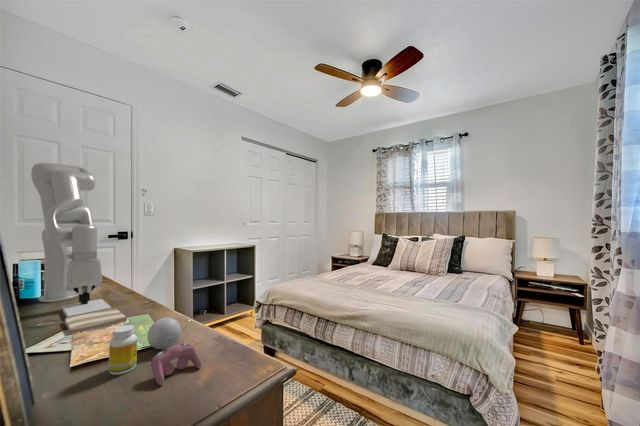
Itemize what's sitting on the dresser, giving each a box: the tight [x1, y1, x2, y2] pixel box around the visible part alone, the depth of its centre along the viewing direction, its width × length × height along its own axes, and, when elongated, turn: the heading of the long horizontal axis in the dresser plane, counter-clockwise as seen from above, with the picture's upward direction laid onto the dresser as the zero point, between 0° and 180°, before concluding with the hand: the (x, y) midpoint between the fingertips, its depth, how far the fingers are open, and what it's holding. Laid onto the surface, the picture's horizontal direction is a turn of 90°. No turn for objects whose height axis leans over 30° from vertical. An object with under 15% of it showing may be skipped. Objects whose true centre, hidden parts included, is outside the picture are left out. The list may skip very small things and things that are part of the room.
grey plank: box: [61, 298, 113, 318], centre depth 103 cm, size 16×12×2 cm
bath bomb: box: [147, 317, 182, 350], centre depth 75 cm, size 8×8×8 cm
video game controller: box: [150, 342, 202, 386], centre depth 63 cm, size 10×5×7 cm, turn 141°
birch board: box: [64, 307, 128, 336], centre depth 92 cm, size 14×14×2 cm
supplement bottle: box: [108, 324, 138, 376], centre depth 65 cm, size 5×5×10 cm
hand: (84, 303), depth 107 cm, fingers closed
